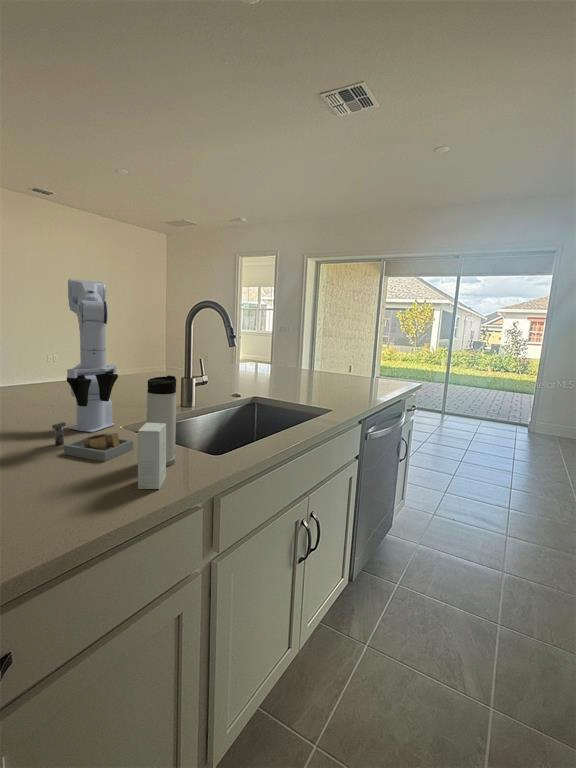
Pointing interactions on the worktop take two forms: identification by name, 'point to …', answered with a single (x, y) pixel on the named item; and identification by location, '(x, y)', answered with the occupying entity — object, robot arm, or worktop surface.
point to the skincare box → (151, 455)
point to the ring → (101, 441)
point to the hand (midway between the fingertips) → (93, 403)
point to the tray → (101, 454)
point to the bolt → (59, 433)
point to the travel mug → (163, 410)
